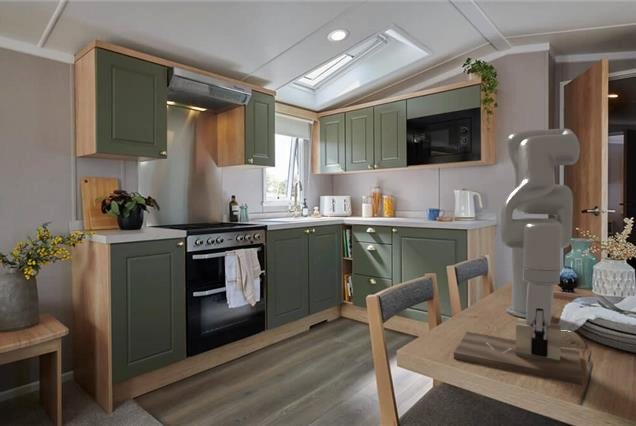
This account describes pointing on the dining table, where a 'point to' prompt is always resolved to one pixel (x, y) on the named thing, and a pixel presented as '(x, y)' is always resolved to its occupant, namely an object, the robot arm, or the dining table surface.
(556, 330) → the cream carton
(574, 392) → the dining table surface
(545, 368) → the walnut board
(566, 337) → the clay tablet
